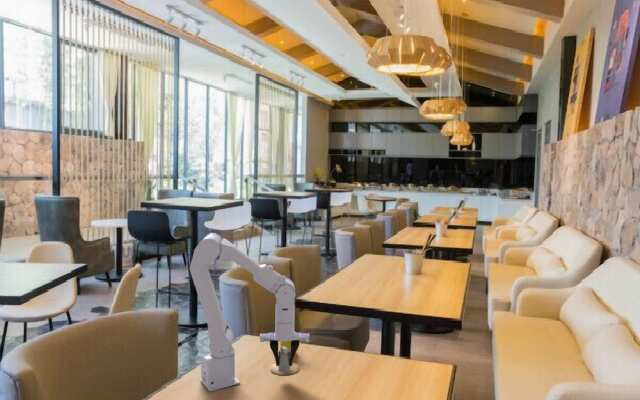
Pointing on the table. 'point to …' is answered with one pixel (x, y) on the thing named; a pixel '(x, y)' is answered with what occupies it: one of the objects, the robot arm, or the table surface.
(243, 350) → the table surface
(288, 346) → the supplement bottle
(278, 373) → the coaster
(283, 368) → the plug
